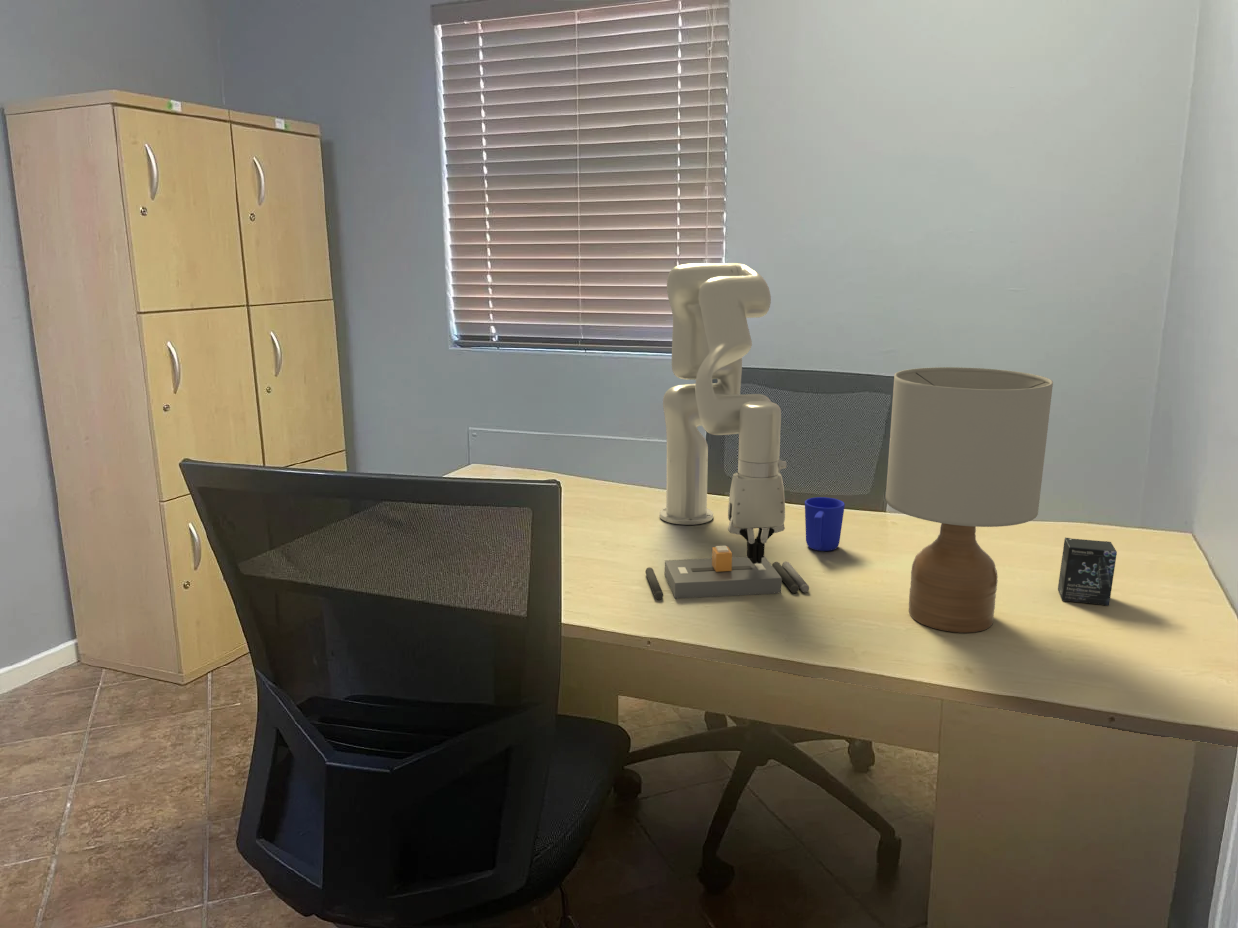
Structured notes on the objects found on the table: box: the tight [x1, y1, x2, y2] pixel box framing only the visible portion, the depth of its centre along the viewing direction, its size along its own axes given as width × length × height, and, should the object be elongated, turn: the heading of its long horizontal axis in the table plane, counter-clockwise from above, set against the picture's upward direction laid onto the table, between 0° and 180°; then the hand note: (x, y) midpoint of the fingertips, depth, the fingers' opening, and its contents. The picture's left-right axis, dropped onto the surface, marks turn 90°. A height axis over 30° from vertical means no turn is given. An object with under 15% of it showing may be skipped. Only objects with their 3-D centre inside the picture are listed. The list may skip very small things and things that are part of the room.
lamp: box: [885, 366, 1054, 634], centre depth 152 cm, size 24×24×42 cm
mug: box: [804, 496, 846, 552], centre depth 189 cm, size 8×12×10 cm
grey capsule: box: [771, 561, 800, 594], centre depth 174 cm, size 14×2×2 cm, turn 6°
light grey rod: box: [781, 560, 810, 593], centre depth 174 cm, size 14×2×2 cm, turn 6°
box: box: [1057, 537, 1118, 607], centre depth 163 cm, size 8×6×11 cm
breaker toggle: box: [711, 545, 733, 572], centre depth 171 cm, size 4×3×4 cm
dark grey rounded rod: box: [645, 567, 664, 600], centre depth 171 cm, size 14×2×2 cm, turn 6°
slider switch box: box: [664, 555, 783, 599], centre depth 172 cm, size 12×20×3 cm, turn 96°
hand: (755, 560), depth 172 cm, fingers closed
